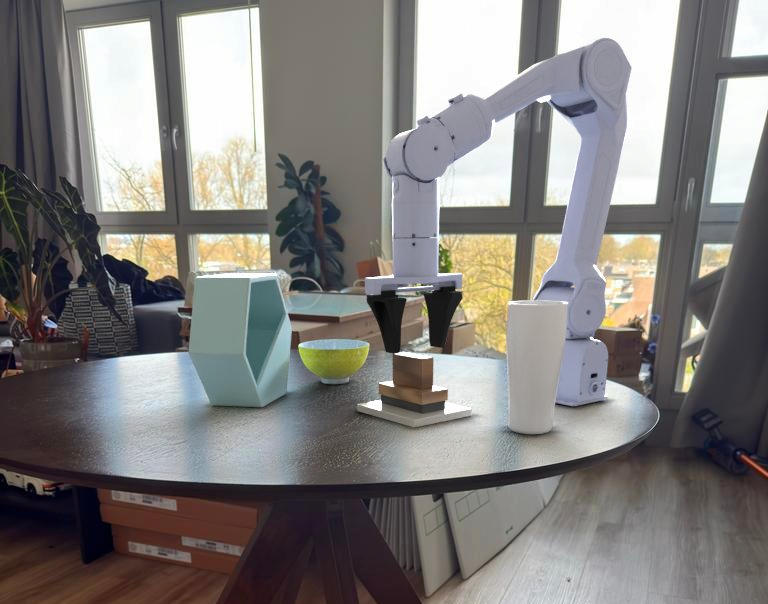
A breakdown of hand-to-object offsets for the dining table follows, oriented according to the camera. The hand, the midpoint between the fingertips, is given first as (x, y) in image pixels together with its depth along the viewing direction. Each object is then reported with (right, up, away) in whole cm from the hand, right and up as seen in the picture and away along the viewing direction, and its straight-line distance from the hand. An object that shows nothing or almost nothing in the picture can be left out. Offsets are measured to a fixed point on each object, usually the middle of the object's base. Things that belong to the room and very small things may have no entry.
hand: (415, 349), depth 94 cm
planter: (-24, -5, +12) cm, 27 cm away
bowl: (-12, 0, +25) cm, 28 cm away
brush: (0, -7, +3) cm, 7 cm away
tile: (0, -8, +3) cm, 8 cm away
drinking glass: (+14, -11, -6) cm, 19 cm away
